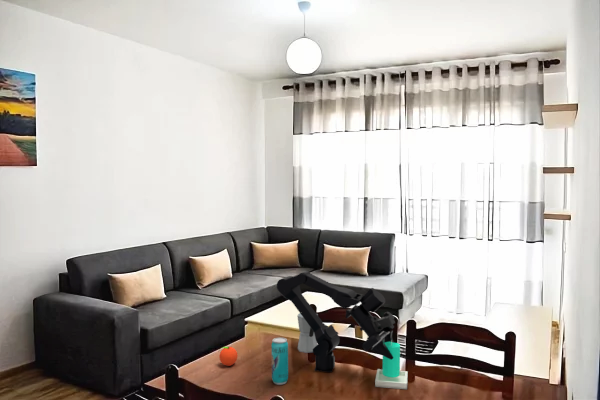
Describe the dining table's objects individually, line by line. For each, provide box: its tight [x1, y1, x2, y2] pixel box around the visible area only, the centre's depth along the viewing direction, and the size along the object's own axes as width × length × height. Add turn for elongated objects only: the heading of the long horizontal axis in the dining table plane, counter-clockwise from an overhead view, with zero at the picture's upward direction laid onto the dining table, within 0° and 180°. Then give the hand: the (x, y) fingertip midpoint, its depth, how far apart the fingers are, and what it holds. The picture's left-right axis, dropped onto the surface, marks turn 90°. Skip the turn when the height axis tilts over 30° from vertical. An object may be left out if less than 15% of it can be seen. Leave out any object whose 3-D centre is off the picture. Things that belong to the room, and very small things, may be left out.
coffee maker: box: [297, 312, 319, 354], centre depth 201 cm, size 15×9×18 cm, turn 14°
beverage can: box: [271, 337, 289, 386], centre depth 170 cm, size 6×6×15 cm
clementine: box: [218, 346, 239, 367], centre depth 186 cm, size 8×7×7 cm
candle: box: [381, 340, 401, 378], centre depth 169 cm, size 6×6×12 cm
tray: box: [374, 368, 409, 390], centre depth 169 cm, size 11×11×2 cm
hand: (395, 356), depth 168 cm, fingers closed on candle, 5 cm apart
